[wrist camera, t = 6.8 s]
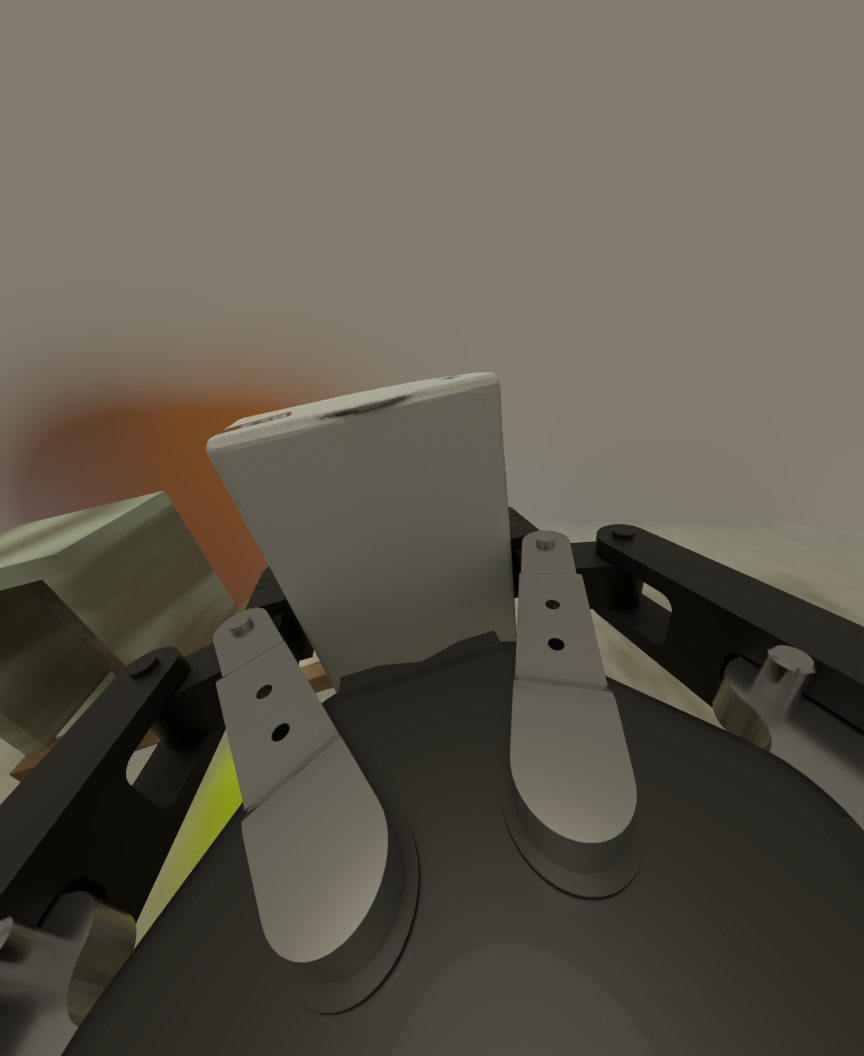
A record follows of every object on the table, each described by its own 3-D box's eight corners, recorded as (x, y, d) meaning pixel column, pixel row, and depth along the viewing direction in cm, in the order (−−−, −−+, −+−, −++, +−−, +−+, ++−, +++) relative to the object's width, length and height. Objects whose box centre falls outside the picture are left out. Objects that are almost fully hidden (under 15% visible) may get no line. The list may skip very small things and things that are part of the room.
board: (26, 785, 18) (-222, 630, 12) (143, 641, 27) (35, 518, 22) (461, 645, 20) (425, 467, 15) (427, 559, 30) (397, 432, 25)
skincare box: (473, 634, 16) (436, 374, 10) (528, 712, 12) (514, 365, 7) (356, 686, 14) (238, 414, 9) (375, 794, 11) (190, 431, 5)
